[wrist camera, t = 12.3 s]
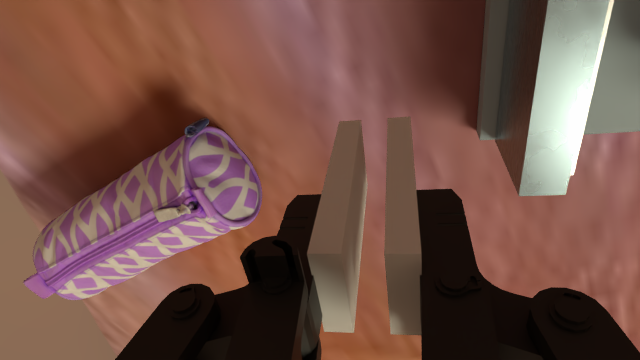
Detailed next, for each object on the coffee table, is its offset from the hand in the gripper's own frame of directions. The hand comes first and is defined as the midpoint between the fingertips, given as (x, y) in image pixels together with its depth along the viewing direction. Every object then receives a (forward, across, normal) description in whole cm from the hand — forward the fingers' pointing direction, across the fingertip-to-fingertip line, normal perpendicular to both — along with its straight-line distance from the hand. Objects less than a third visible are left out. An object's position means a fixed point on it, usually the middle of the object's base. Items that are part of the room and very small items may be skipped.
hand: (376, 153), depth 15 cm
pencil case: (+17, -22, -13) cm, 30 cm away
